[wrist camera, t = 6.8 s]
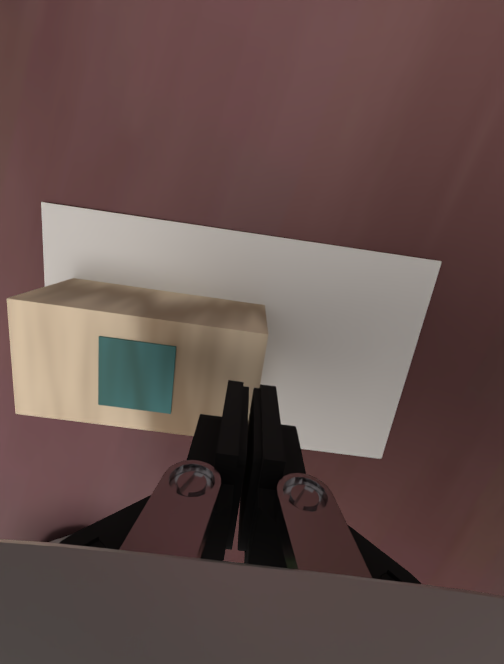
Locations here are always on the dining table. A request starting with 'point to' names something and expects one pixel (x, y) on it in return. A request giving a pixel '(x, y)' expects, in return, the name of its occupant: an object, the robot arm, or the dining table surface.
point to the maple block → (131, 354)
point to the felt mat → (274, 309)
